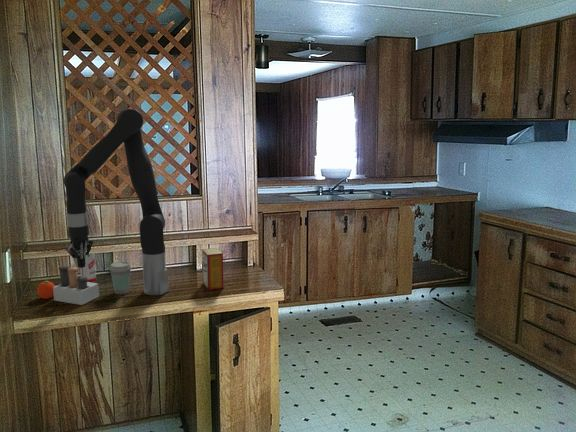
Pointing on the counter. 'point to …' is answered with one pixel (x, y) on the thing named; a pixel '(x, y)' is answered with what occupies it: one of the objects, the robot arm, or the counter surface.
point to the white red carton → (89, 268)
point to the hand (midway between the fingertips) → (81, 267)
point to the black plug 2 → (82, 282)
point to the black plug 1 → (64, 276)
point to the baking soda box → (212, 268)
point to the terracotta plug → (73, 277)
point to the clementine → (45, 290)
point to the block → (76, 293)
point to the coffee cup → (120, 277)
